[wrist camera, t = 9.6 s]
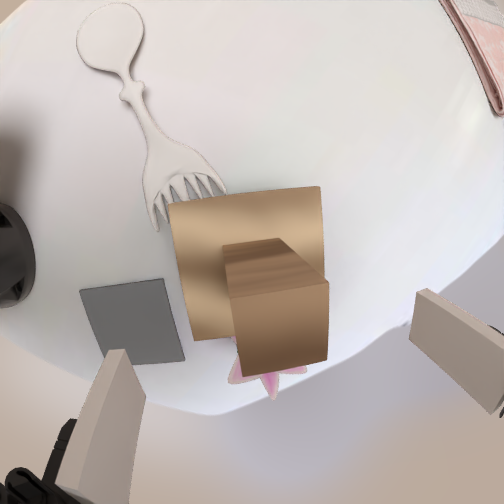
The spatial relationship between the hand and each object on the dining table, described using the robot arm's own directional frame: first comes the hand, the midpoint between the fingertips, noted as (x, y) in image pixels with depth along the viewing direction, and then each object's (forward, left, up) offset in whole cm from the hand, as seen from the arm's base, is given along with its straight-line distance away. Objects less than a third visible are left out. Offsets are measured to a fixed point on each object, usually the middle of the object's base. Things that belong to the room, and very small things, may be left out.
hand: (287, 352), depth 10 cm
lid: (0, 0, -13) cm, 13 cm away
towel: (+65, +40, -23) cm, 80 cm away
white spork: (-10, +19, -22) cm, 31 cm away
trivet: (-16, -9, -22) cm, 28 cm away
